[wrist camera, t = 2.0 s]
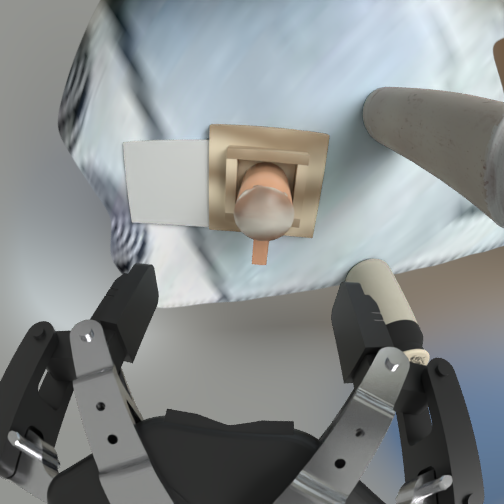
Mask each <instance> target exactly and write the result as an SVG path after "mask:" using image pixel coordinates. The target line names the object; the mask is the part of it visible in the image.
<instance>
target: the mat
mask: <svg viewBox="0 0 504 504" xmlns="http://www.w3.org/2000/svg"><path fill="white" fill-rule="evenodd" d="M123 150H124V162H125V173H126V182H127V191H128V198H129V206H130V213H131V219H132V222H133V223H151V224H168V225H183V226H198V227H209V140H201V139H179V140H147V141H130V142H124V143H123Z"/></svg>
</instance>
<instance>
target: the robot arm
mask: <svg viewBox="0 0 504 504" xmlns="http://www.w3.org/2000/svg"><path fill="white" fill-rule="evenodd" d="M158 297H159V294H158V288H157V282H156V276H155V270H154V267H153V265H149V264H140V263H136V264H135V265H134V266H133V267H132V269H131V270H130V272H129V273H128V274H127V273H124V274H123V275H121V276H120V277H119V278H117V279H116V280H115V282H114V283H113V285H112V286H111V287H110V289H109V290H108V292H107V294H106V296H105V297H104V299H103V300H102V301H101V303H100V304H99V306H98V308H97V309H96V311H95V312H94V314H93V316H92V317H91V319H90V320H84V321H81V322H79V323H77V324H76V325H75V326H74V327H73V328H72V330H71V331H55V330H54V328H53V326H52V325H51V324H50V323H49V322H45V321H43V322H38V323H36V324H34V325H33V326H32V327H31V328H30V329H29V330H28V332H27V334H26V335H25V337H24V339H23V340H22V342H21V344H20V345H19V347H18V349H17V351H16V353H15V354H14V356H13V358H12V360H11V362H10V364H9V365H8V367H7V369H6V371H5V373H4V375H3V378H2V380H1V381H0V477H1V478H3V479H5V480H7V481H9V482H11V483H14V484H16V485H18V486H20V487H21V488H22V489H24V490H26V491H27V492H29V493H30V494H32V495H33V496H35V497H37V498H39V499H40V500H42V501H43V502H46V503H47V504H386V503H384V502H383V501H382V500H381V499H380V498H379V497H378V496H377V495H375V494H374V493H373V492H372V491H371V490H370V489H369V488H368V487H366V485H365V484H363V483H362V482H361V481H360V478H361V476H362V475H363V473H364V471H365V470H366V468H367V467H368V465H369V463H370V462H371V460H372V458H373V456H374V455H375V453H376V451H377V449H378V447H379V446H380V444H381V442H382V440H383V438H384V436H385V434H386V432H387V430H388V428H389V426H390V424H391V422H392V419H393V418H394V415H395V411H396V415H397V421H398V427H399V432H400V439H401V446H402V455H403V463H404V473H405V483H404V484H403V485H402V487H401V488H400V490H399V492H398V495H397V497H396V504H483V502H484V487H483V479H482V473H481V466H480V460H479V455H478V450H477V446H476V441H475V436H474V432H473V429H472V424H471V421H470V417H469V413H468V410H467V407H466V404H465V400H464V397H463V394H462V391H461V388H460V385H459V382H458V380H457V377H456V374H455V371H454V369H453V367H452V365H450V363H449V362H447V361H446V360H444V359H442V358H434V359H432V360H431V361H430V362H429V363H428V364H427V366H426V365H421V364H417V363H412V362H409V359H408V357H407V356H406V355H405V354H404V352H402V351H401V350H399V349H397V348H394V345H393V343H392V340H391V337H390V335H389V332H388V329H387V327H386V324H385V322H384V321H383V320H384V319H383V317H382V314H380V309H379V307H378V305H377V303H376V302H375V300H374V299H373V298H372V297H371V296H370V295H365V294H364V292H363V289H362V287H361V284H360V283H357V282H342V283H341V285H340V287H339V290H338V293H337V297H336V299H335V303H334V305H333V309H332V315H331V320H332V326H333V330H334V335H335V339H336V344H337V349H338V354H339V359H340V364H341V370H342V375H343V380H344V383H353V384H354V390H353V391H352V392H351V394H350V396H349V397H348V399H347V400H346V402H345V404H344V405H343V406H342V408H341V410H340V411H339V413H338V414H337V415H336V417H335V418H334V420H333V421H332V423H331V424H330V425H329V427H328V428H327V429H326V430H325V432H324V433H323V434H322V436H321V437H320V438H319V439H317V438H315V437H313V436H312V435H310V434H308V433H306V432H303V431H300V430H297V429H294V422H293V421H257V422H251V423H245V424H237V425H226V424H223V423H220V422H217V421H214V420H212V419H209V418H206V417H203V416H201V415H198V414H194V413H188V412H182V411H177V410H172V409H167V411H166V415H165V416H158V417H153V418H149V419H146V420H144V419H143V417H142V415H141V413H140V412H139V410H138V408H137V406H136V404H135V401H134V399H133V397H132V394H131V392H130V389H129V386H128V384H127V381H126V379H125V376H124V373H123V371H122V369H121V366H122V364H123V361H126V362H130V363H133V361H134V359H135V356H136V354H137V351H138V349H139V346H140V344H141V341H142V339H143V337H144V334H145V332H146V330H147V327H148V325H149V323H150V320H151V318H152V316H153V313H154V311H155V309H156V307H157V304H158ZM45 369H47V371H48V372H47V374H46V376H45V378H44V380H43V383H42V385H41V387H40V390H39V392H38V385H39V382H40V380H41V378H42V376H43V374H44V372H45ZM73 391H74V392H75V396H76V401H77V405H78V409H79V412H80V416H81V420H82V423H83V426H84V429H85V433H86V436H87V439H88V442H89V445H90V448H91V450H92V454H90V455H89V456H87V457H86V458H84V459H82V460H81V461H79V462H78V463H76V464H74V465H72V466H71V467H69V468H67V469H66V470H64V471H62V472H61V473H59V472H58V469H59V468H60V462H59V460H58V456H57V452H56V450H55V449H54V447H55V444H56V440H57V437H58V434H59V430H60V427H61V424H62V421H63V418H64V415H65V412H66V410H67V407H68V404H69V401H70V398H71V396H72V393H73ZM428 407H429V410H428ZM429 411H430V414H429ZM430 415H431V419H432V423H431V419H430Z"/></svg>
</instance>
